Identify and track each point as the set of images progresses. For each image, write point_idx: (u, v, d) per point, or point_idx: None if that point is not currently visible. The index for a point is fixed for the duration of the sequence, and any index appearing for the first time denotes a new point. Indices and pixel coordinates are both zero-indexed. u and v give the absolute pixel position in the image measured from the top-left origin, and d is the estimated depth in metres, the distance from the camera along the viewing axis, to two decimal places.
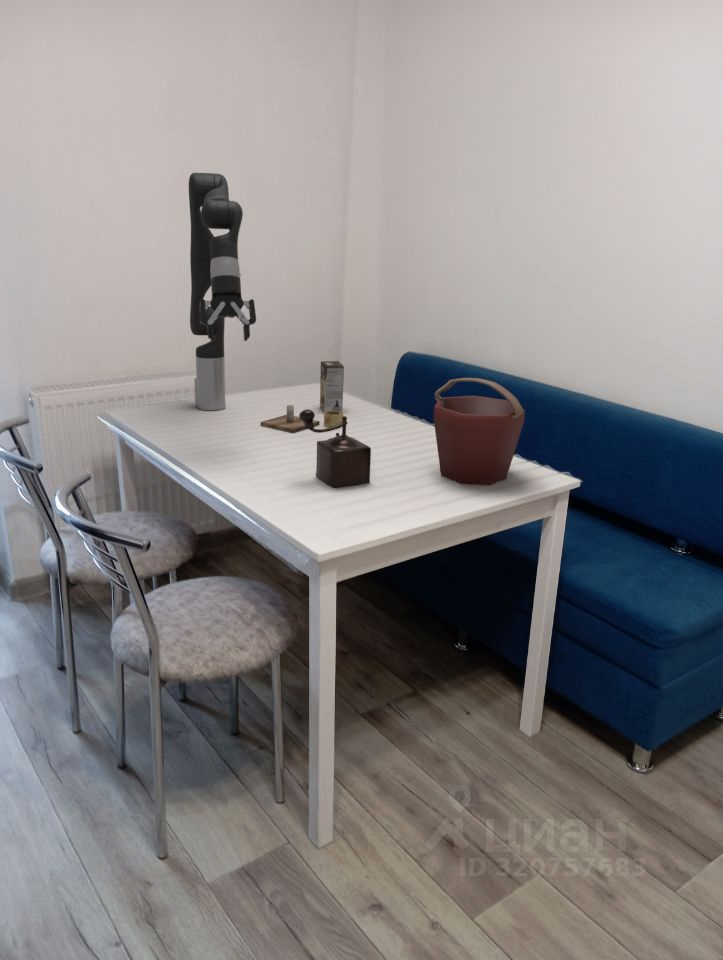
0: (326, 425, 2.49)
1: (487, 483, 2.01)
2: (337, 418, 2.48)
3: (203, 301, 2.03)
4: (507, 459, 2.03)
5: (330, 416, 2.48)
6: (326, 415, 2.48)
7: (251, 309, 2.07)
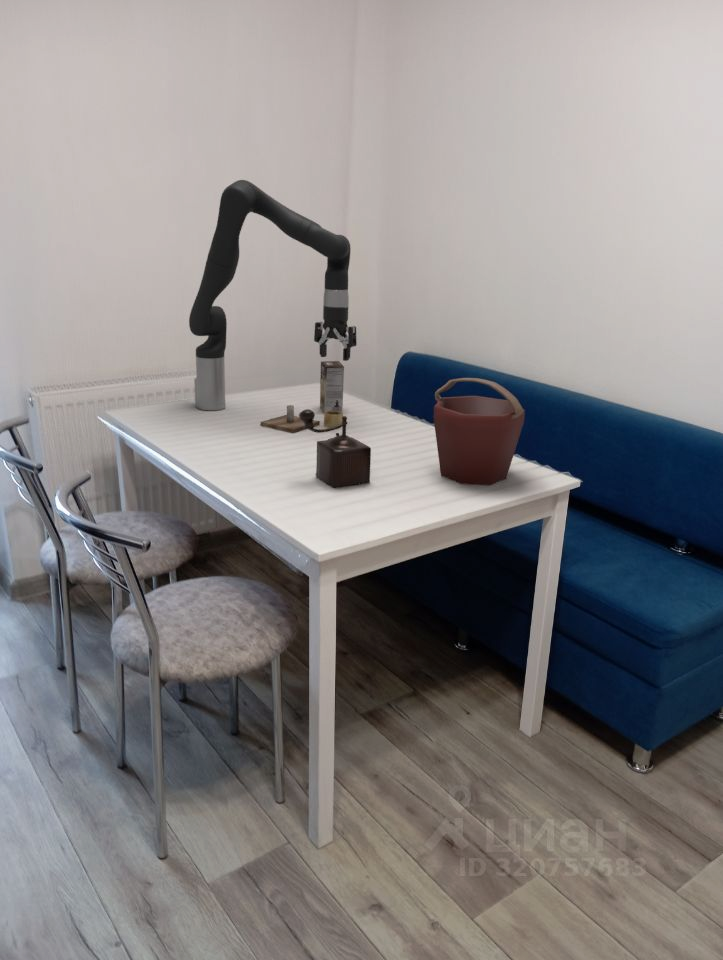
0: (326, 425, 2.49)
1: (487, 483, 2.01)
2: (337, 418, 2.48)
3: None
4: (507, 459, 2.03)
5: (330, 416, 2.48)
6: (326, 415, 2.48)
7: None
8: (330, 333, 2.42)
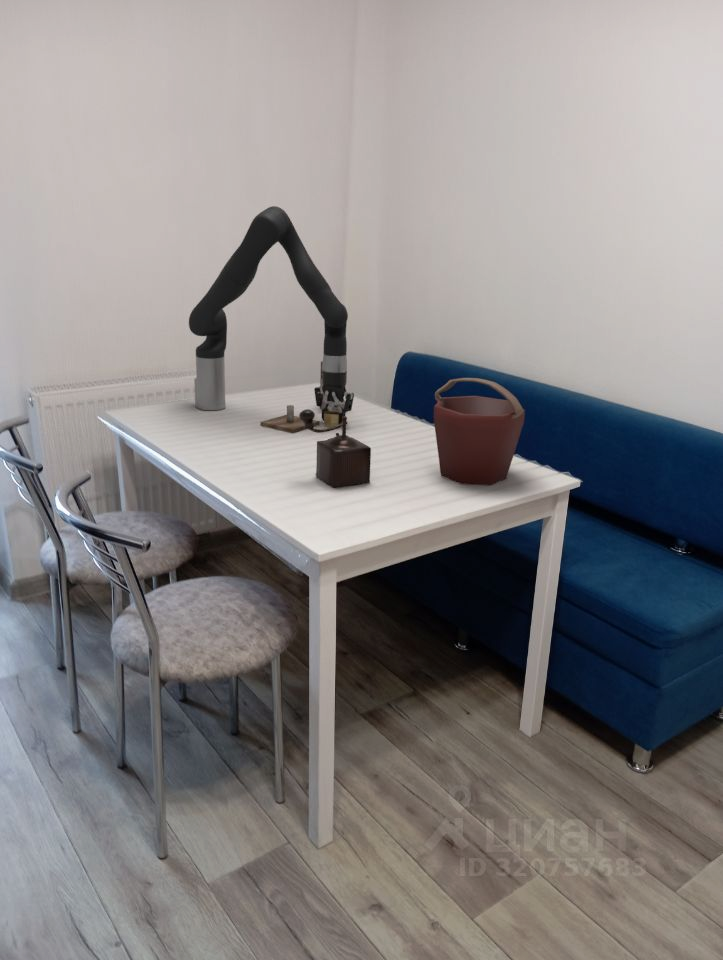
0: (326, 425, 2.49)
1: (487, 483, 2.01)
2: (337, 418, 2.48)
3: None
4: (507, 459, 2.03)
5: (330, 416, 2.48)
6: (326, 415, 2.48)
7: None
8: (330, 396, 2.48)
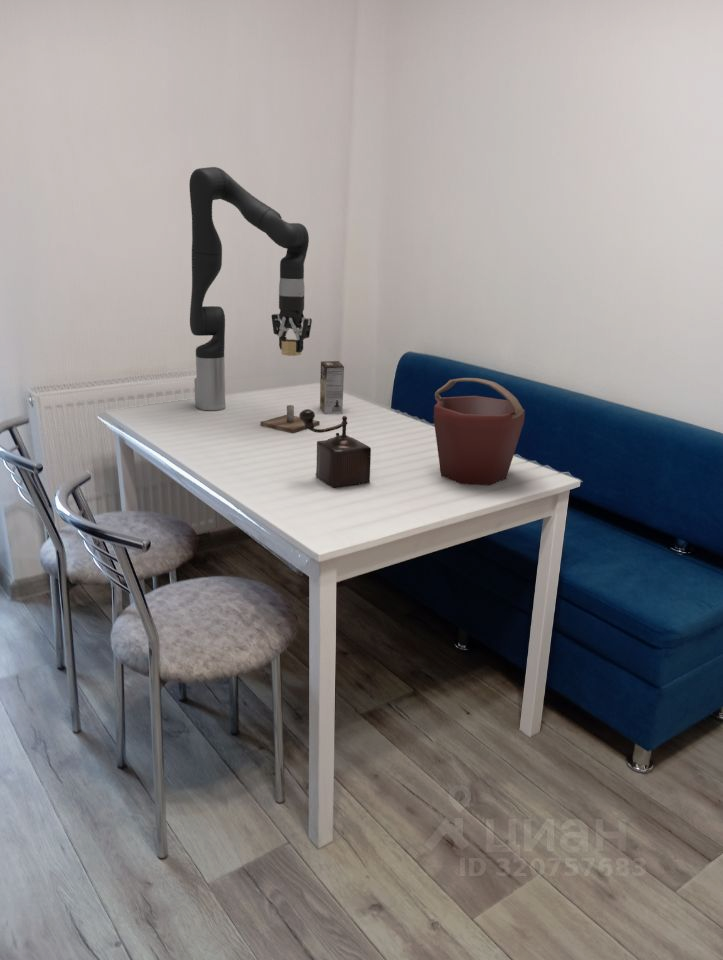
0: (283, 353, 2.41)
1: (487, 483, 2.01)
2: (295, 345, 2.39)
3: None
4: (507, 459, 2.03)
5: (287, 343, 2.39)
6: (283, 342, 2.40)
7: None
8: (287, 322, 2.39)
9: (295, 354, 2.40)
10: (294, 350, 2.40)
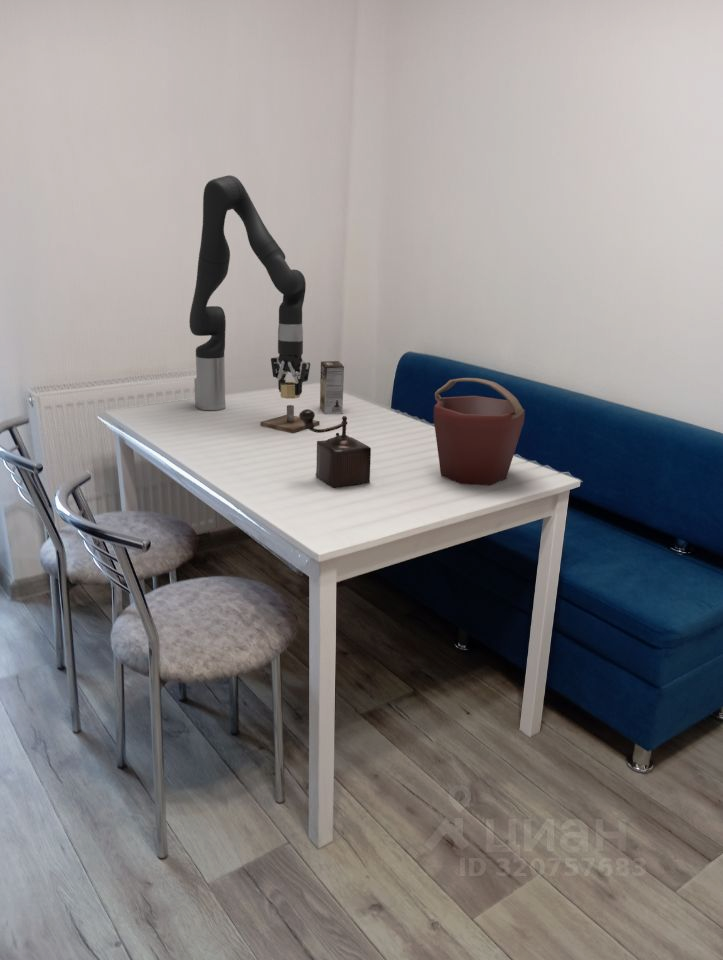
0: (282, 396, 2.44)
1: (487, 483, 2.01)
2: (293, 389, 2.43)
3: None
4: (507, 459, 2.03)
5: (286, 386, 2.43)
6: (282, 386, 2.43)
7: None
8: (286, 366, 2.43)
9: (294, 397, 2.44)
10: (293, 393, 2.44)
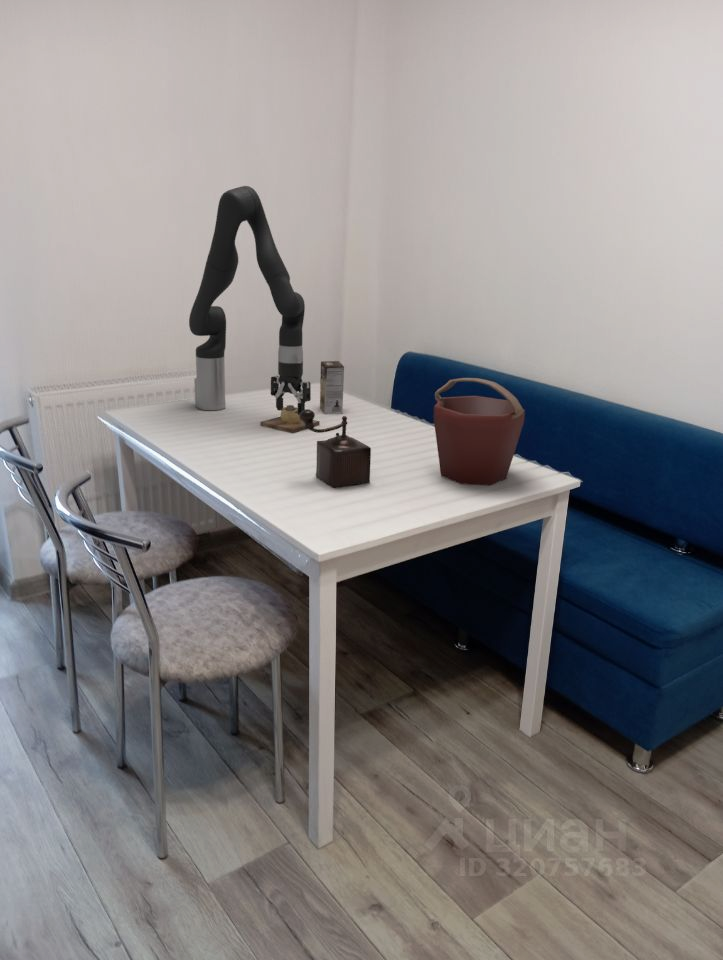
0: (283, 421, 2.47)
1: (487, 483, 2.01)
2: (294, 414, 2.46)
3: None
4: (507, 459, 2.03)
5: (286, 412, 2.45)
6: (283, 411, 2.46)
7: None
8: (285, 387, 2.45)
9: (294, 422, 2.47)
10: (293, 418, 2.46)
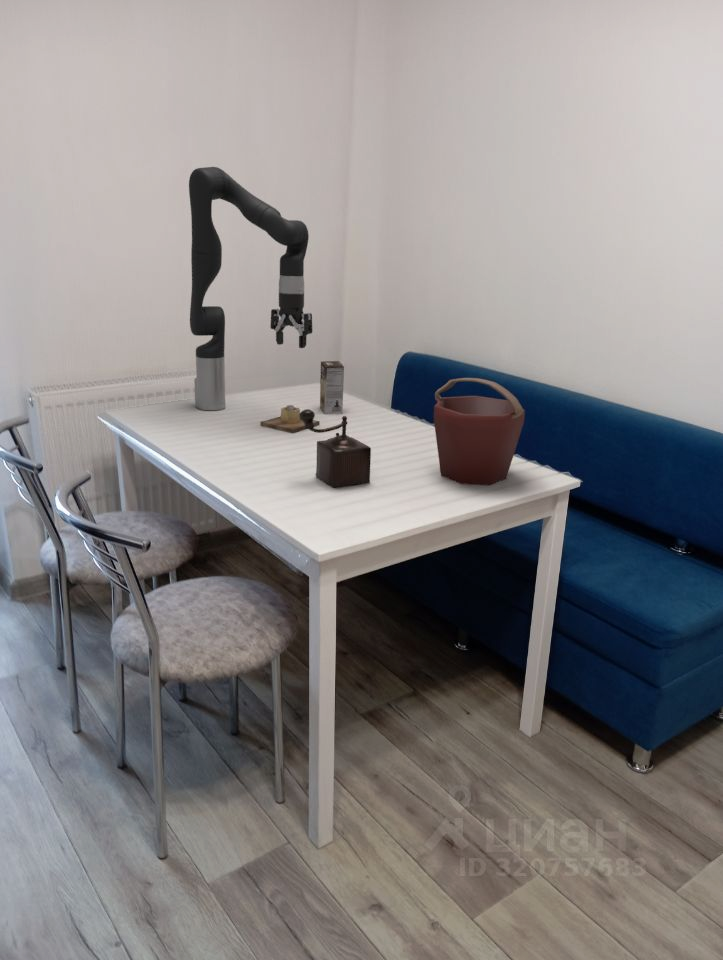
0: (283, 421, 2.47)
1: (487, 483, 2.01)
2: (294, 414, 2.46)
3: None
4: (507, 459, 2.03)
5: (286, 412, 2.45)
6: (283, 411, 2.46)
7: None
8: (286, 320, 2.39)
9: (294, 422, 2.47)
10: (293, 418, 2.46)
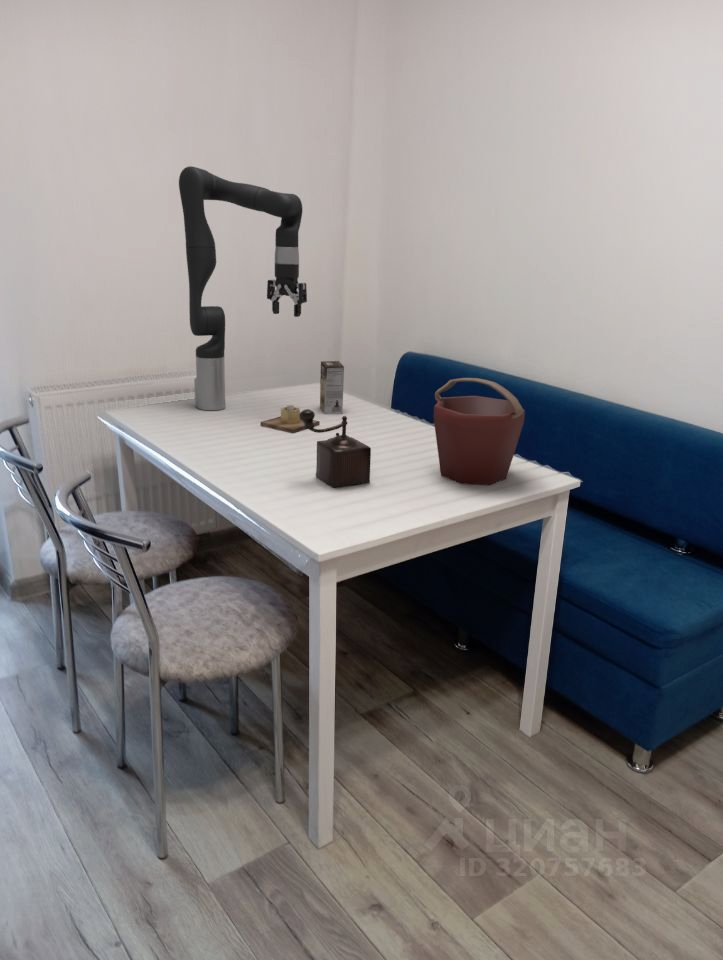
0: (283, 421, 2.47)
1: (487, 483, 2.01)
2: (294, 414, 2.46)
3: None
4: (507, 459, 2.03)
5: (286, 412, 2.45)
6: (283, 411, 2.46)
7: None
8: (282, 290, 2.50)
9: (294, 422, 2.47)
10: (293, 418, 2.46)
